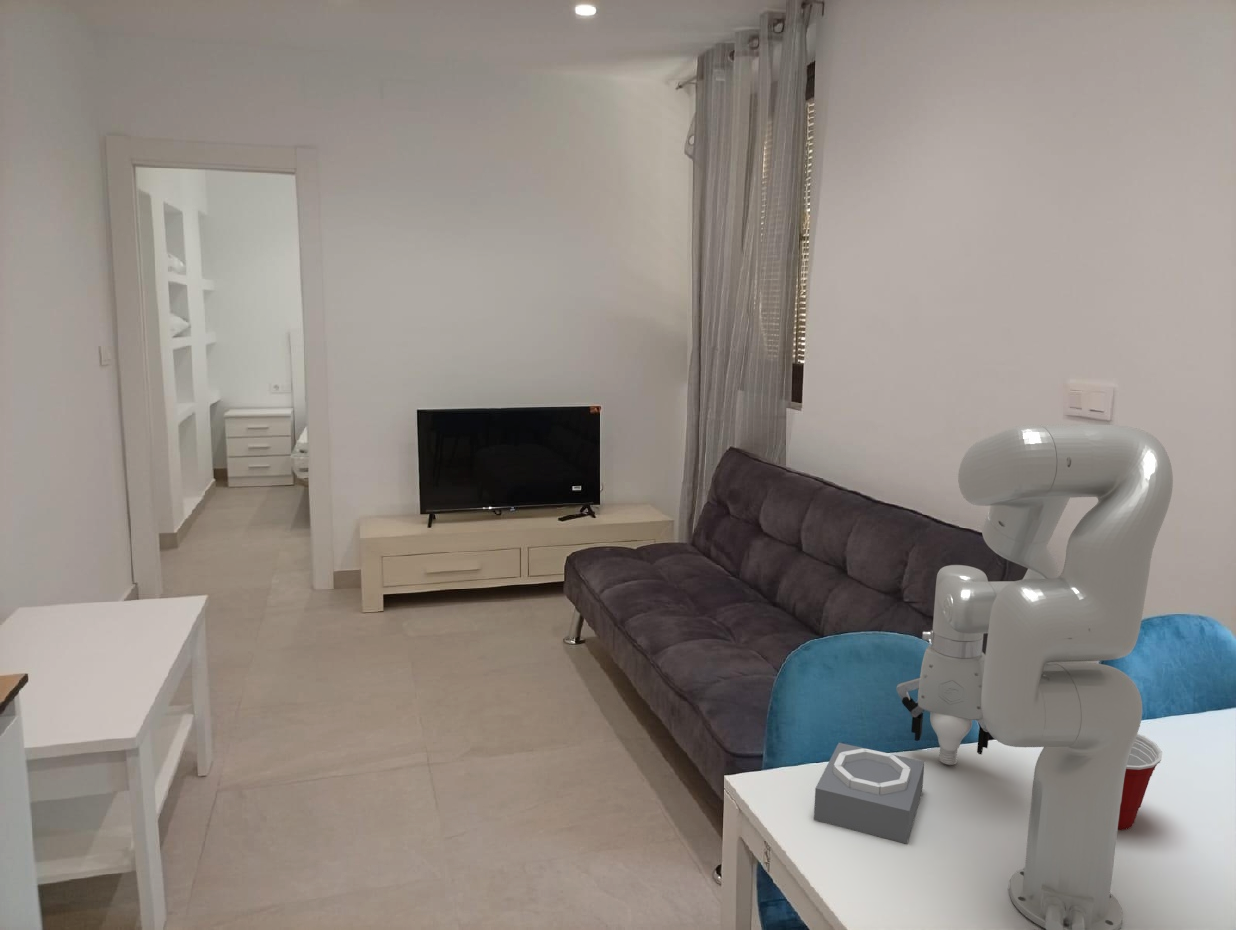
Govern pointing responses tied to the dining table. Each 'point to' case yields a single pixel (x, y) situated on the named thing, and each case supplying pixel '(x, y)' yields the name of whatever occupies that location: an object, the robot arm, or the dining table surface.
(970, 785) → the dining table surface
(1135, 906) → the dining table surface
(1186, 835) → the dining table surface
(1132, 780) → the plastic cup
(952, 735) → the lightbulb
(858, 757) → the octagon ring base plate
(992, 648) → the robot arm
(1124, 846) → the dining table surface
